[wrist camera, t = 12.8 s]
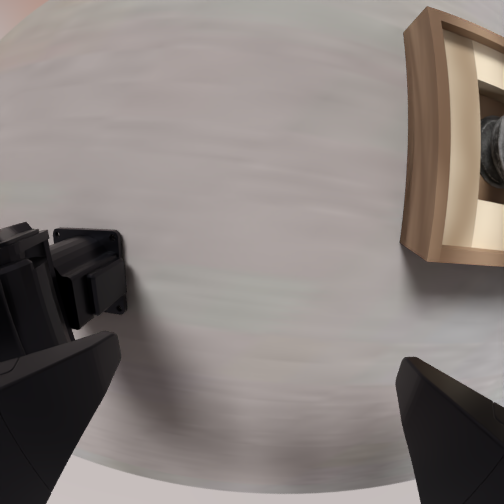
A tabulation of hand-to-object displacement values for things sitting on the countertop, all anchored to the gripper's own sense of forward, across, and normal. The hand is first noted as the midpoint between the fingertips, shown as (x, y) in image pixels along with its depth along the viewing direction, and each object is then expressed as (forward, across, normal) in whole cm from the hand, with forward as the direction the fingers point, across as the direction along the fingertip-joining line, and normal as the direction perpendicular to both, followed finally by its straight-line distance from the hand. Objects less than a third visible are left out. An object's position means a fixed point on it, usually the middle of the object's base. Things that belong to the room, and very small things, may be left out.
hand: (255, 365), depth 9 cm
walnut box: (+12, -16, -9) cm, 22 cm away
